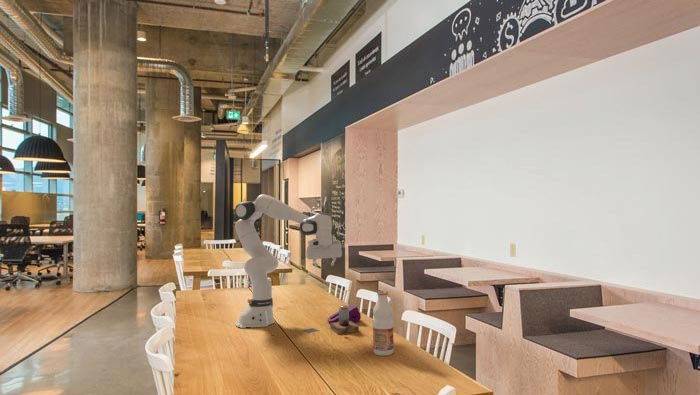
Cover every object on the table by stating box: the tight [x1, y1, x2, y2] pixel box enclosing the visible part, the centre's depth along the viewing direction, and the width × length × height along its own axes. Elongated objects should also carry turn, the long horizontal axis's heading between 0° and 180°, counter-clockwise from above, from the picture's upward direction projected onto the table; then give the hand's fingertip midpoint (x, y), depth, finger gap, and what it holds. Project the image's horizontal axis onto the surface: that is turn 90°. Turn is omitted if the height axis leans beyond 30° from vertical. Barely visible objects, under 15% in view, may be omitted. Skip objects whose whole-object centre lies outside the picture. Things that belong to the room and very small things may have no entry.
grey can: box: [338, 304, 349, 326], centre depth 247 cm, size 6×6×10 cm
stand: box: [329, 321, 360, 335], centre depth 247 cm, size 12×12×3 cm
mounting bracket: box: [326, 303, 362, 325], centre depth 264 cm, size 9×8×18 cm
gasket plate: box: [301, 327, 320, 334], centre depth 247 cm, size 7×7×1 cm
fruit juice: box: [372, 290, 394, 357], centre depth 209 cm, size 9×9×28 cm
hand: (324, 266), depth 252 cm, fingers open, 8 cm apart
